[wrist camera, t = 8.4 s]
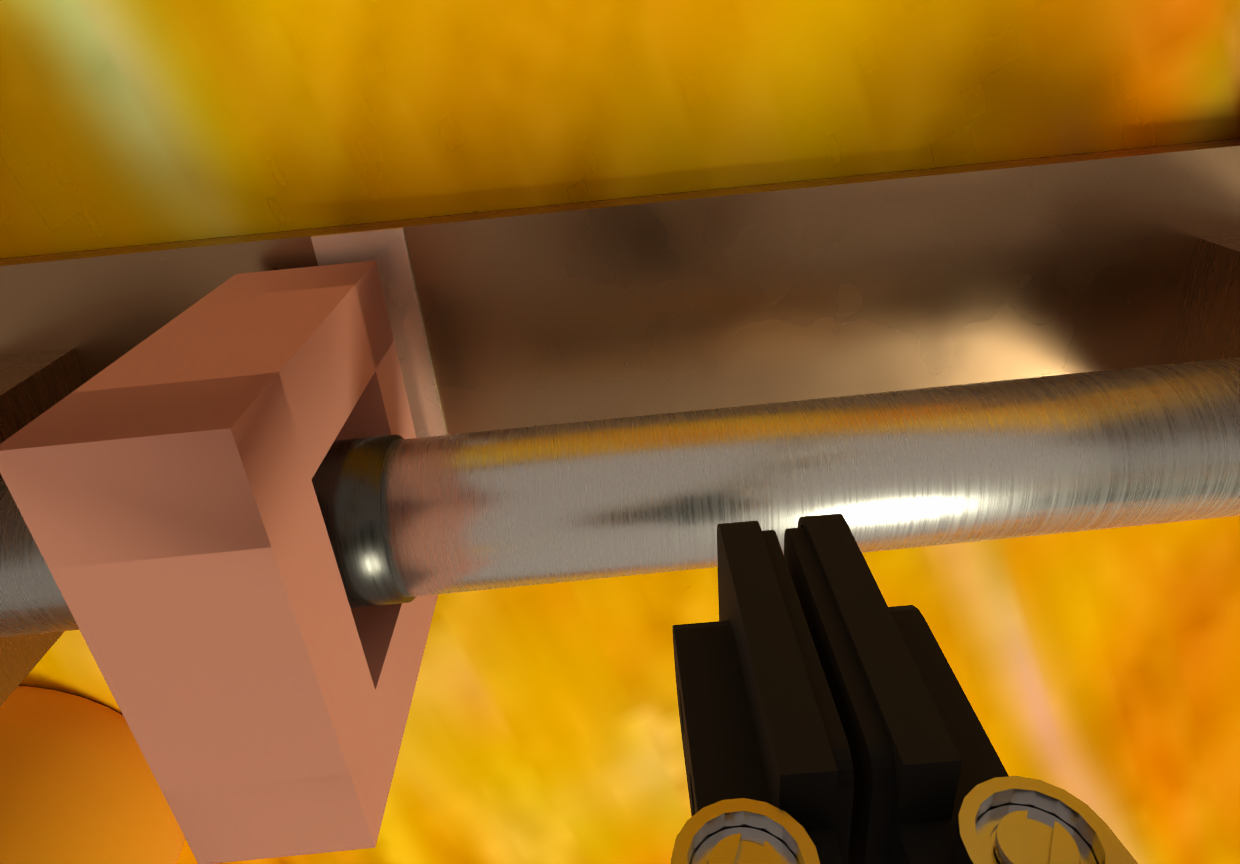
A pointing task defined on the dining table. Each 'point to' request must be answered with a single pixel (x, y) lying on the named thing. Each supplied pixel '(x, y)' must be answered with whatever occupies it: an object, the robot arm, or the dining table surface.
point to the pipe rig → (724, 369)
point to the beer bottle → (77, 786)
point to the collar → (235, 558)
